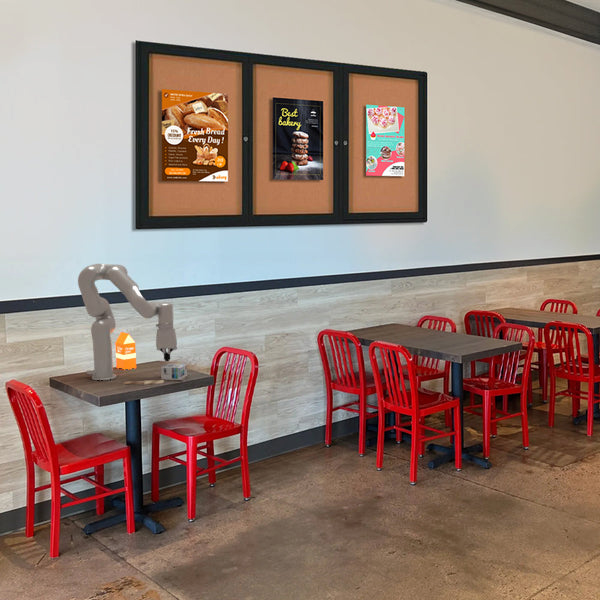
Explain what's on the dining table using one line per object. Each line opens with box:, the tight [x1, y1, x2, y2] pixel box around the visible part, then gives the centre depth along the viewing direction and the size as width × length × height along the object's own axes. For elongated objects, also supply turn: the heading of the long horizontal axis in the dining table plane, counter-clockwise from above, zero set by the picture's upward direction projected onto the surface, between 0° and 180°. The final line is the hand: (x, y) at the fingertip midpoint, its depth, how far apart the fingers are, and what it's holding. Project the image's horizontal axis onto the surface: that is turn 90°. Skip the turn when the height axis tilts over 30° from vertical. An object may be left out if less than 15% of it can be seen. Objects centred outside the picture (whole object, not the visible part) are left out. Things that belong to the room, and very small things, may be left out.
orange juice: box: [115, 331, 137, 371], centre depth 422 cm, size 8×9×20 cm
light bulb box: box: [160, 363, 188, 380], centre depth 395 cm, size 11×7×11 cm
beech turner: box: [123, 379, 165, 386], centre depth 386 cm, size 20×6×1 cm, turn 102°
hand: (167, 360), depth 396 cm, fingers closed
